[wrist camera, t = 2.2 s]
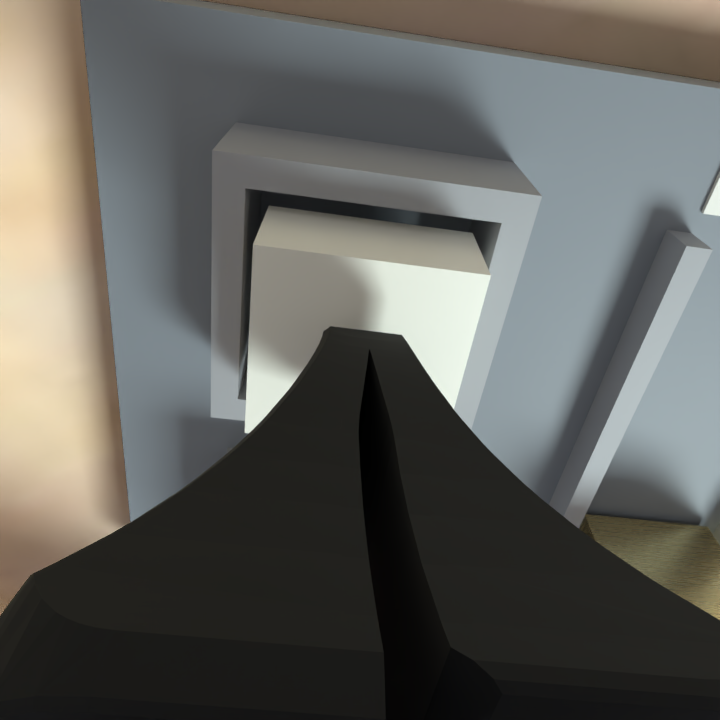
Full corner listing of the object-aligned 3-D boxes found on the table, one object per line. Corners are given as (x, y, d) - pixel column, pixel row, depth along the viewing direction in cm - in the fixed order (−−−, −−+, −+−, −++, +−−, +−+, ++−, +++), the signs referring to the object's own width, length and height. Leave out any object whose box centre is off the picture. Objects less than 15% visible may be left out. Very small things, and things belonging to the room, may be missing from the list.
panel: (685, 594, 24) (744, 706, 20) (153, 545, 23) (113, 656, 19) (1002, 126, 15) (1221, 177, 11) (115, -13, 13) (18, -10, 9)
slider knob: (656, 605, 21) (704, 708, 18) (545, 595, 21) (576, 698, 18) (707, 526, 19) (772, 628, 16) (584, 514, 19) (627, 615, 16)
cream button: (431, 396, 14) (441, 454, 12) (259, 376, 14) (245, 432, 12) (472, 233, 12) (491, 275, 10) (268, 205, 12) (253, 244, 10)
